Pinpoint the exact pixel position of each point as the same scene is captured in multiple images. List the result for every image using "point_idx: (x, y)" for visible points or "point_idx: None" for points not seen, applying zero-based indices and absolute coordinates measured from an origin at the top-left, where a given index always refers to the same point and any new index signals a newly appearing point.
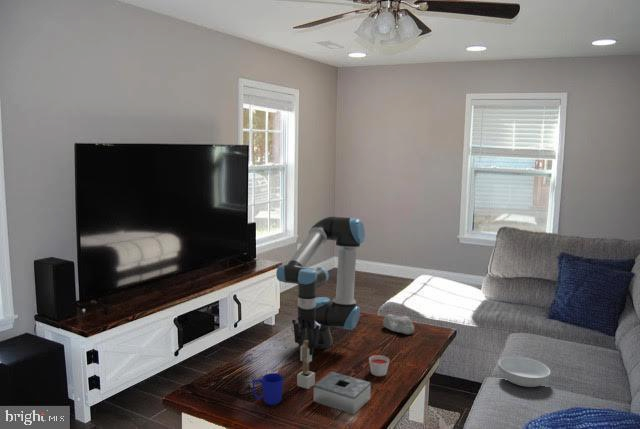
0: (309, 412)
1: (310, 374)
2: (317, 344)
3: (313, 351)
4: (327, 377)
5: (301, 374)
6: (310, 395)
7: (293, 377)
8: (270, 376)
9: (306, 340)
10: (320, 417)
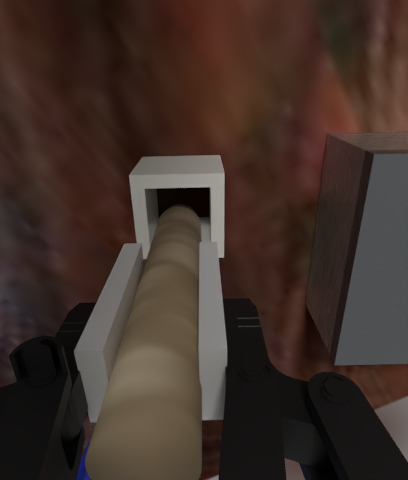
0: (329, 370)
1: (211, 212)
2: (359, 410)
3: (259, 324)
4: (378, 253)
5: (149, 225)
6: (265, 269)
7: (62, 157)
8: None
9: (122, 444)
10: (384, 375)
